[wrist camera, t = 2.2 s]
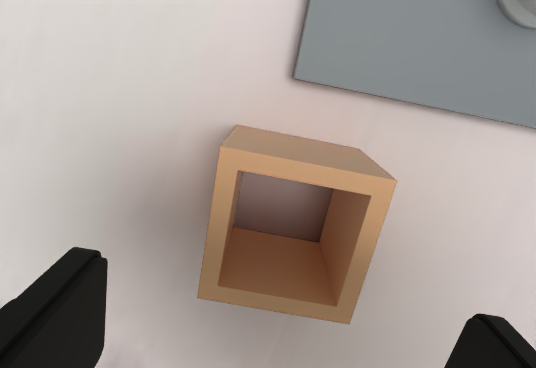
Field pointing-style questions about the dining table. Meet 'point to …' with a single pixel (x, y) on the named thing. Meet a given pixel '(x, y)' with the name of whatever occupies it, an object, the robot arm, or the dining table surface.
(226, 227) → the collar
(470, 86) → the grey plate with peg
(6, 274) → the dining table surface
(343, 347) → the dining table surface
